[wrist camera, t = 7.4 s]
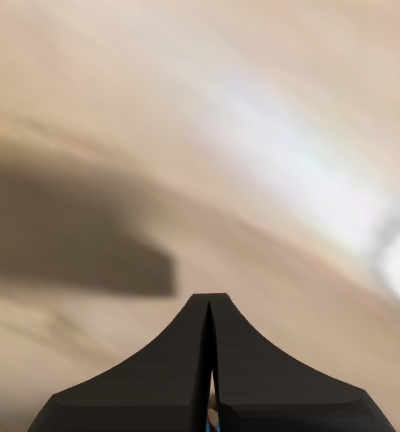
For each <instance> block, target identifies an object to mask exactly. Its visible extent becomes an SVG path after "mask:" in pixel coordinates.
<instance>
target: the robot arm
mask: <svg viewBox="0 0 400 432" xmlns="http://www.w3.org/2000/svg"><path fill="white" fill-rule="evenodd" d="M212 371H213V380H214V388H215V396H216V404H217V412H218V420H219V429H220V432H396V431H395V430H394V428H393V427H392V425H391V424H390V422H389V421H388V419H387V418H386V417H385V415H384V414H383V412H382V411H381V410H380V408H379V407H378V406H377V405H376V403H375V402H374V401H373V400H372V399H371V397H370V396H369V395H368V393H367V392H366V391H365V390H363V389H361V388H358V387H355V386H353V385H350V384H348V383H345V382H343V381H340V380H337V379H335V378H332V377H330V376H328V375H325V374H323V373H321V372H319V371H317V370H315V369H313V368H311V367H309V366H307V365H305V364H304V363H302V362H300V361H298V360H296V359H295V358H293V357H292V356H290V355H288V354H287V353H285V352H284V351H282V350H281V349H279V348H278V347H276V346H275V345H274V344H272V343H271V342H270V341H269V340H267V339H266V338H265V337H263V336H262V335H261V334H260V333H259V332H258V331H257V330H256V329H255V328H254V327H253V326H252V325H251V324H250V323H249V322H248V321H247V320H246V318H245V317H244V316H243V315H242V314H241V313H240V311H239V310H238V309H237V307H236V306H235V305H234V303H233V302H232V300H231V299H230V297H229V296H228V295H227V294H226V293H210V294H193V295H192V296H191V297H190V298H189V300H188V301H187V303H186V304H185V306H184V307H183V308H182V310H181V311H180V312H179V313H178V315H177V316H176V317H175V318H174V319H173V321H172V322H171V323H170V324H169V325H168V326H167V327H166V328H165V329H164V330H163V331H162V332H161V333H160V334H159V335H158V336H157V337H156V338H155V339H154V340H152V341H151V342H150V343H149V344H148V345H146V346H145V347H144V348H142V349H141V350H140V351H138V352H137V353H135V354H134V355H132V356H131V357H129V358H128V359H126V360H125V361H123V362H122V363H120V364H118V365H116V366H115V367H113V368H111V369H109V370H108V371H106V372H104V373H102V374H100V375H98V376H96V377H94V378H92V379H90V380H87V381H85V382H83V383H80V384H78V385H76V386H73V387H71V388H68V389H66V390H64V391H61V392H59V393H56V394H53V395H52V396H51V398H50V399H49V400H48V402H47V403H46V404H45V406H44V407H43V408H42V410H41V411H40V412H39V414H38V415H37V417H36V419H35V420H34V422H33V423H32V425H31V426H30V428H29V429H28V431H27V432H206V431H207V419H208V408H209V397H210V386H211V374H212Z"/></svg>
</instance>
